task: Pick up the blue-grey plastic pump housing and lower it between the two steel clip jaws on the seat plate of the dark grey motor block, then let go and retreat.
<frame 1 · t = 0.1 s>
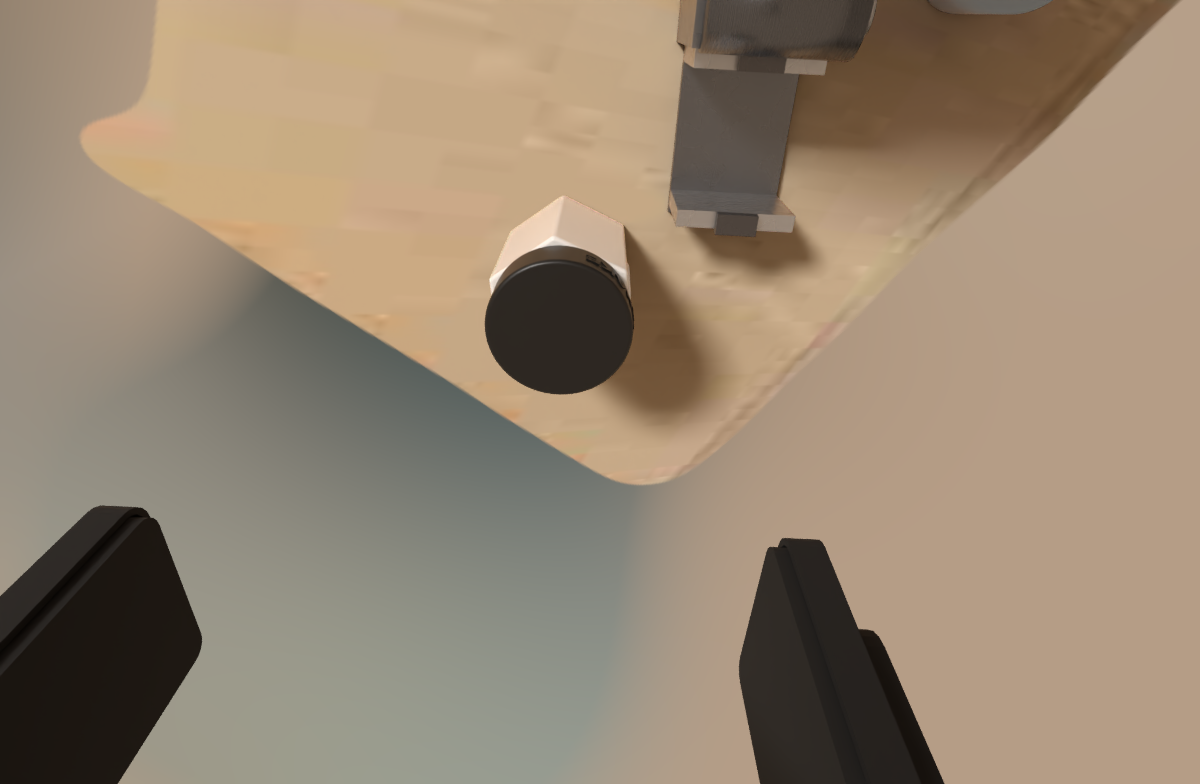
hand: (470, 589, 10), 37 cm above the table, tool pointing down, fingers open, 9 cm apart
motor: (731, 130, 41), on the table
jar: (569, 258, 46), on the table
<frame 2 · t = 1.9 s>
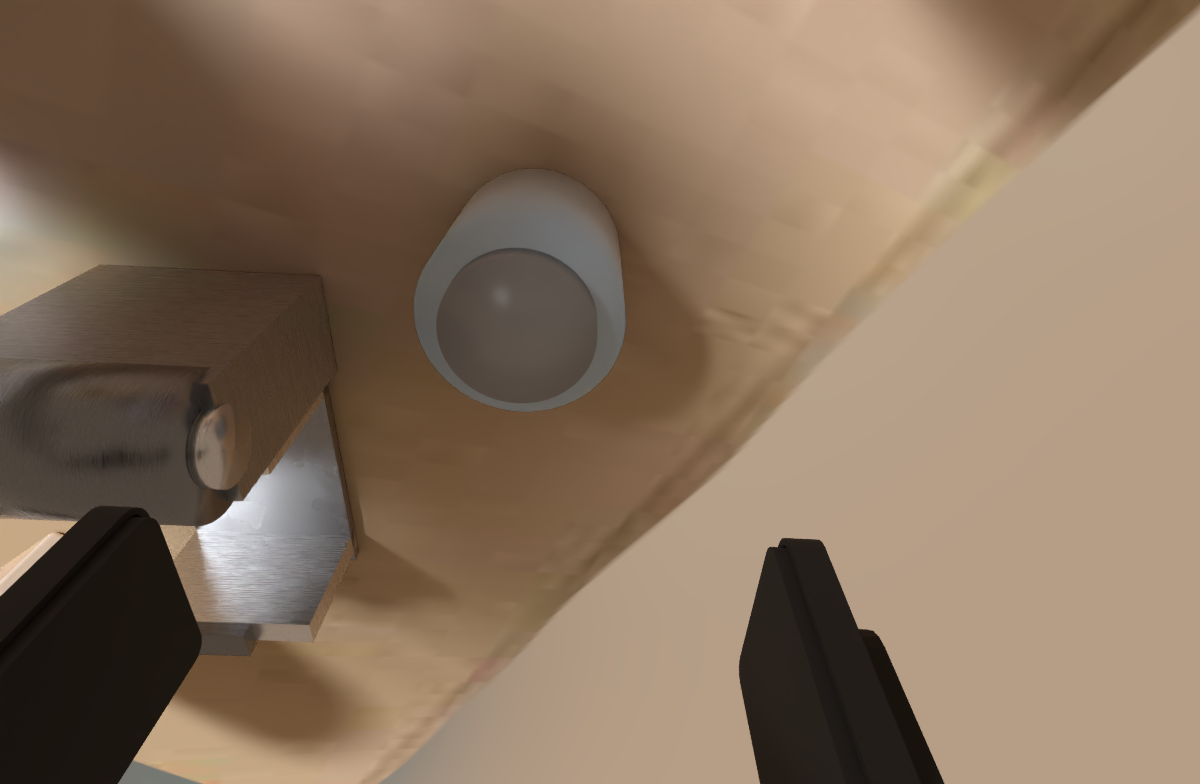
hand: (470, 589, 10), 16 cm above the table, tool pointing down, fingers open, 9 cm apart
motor: (261, 461, 28), on the table
pump: (537, 253, 24), on the table
jar: (101, 593, 33), on the table
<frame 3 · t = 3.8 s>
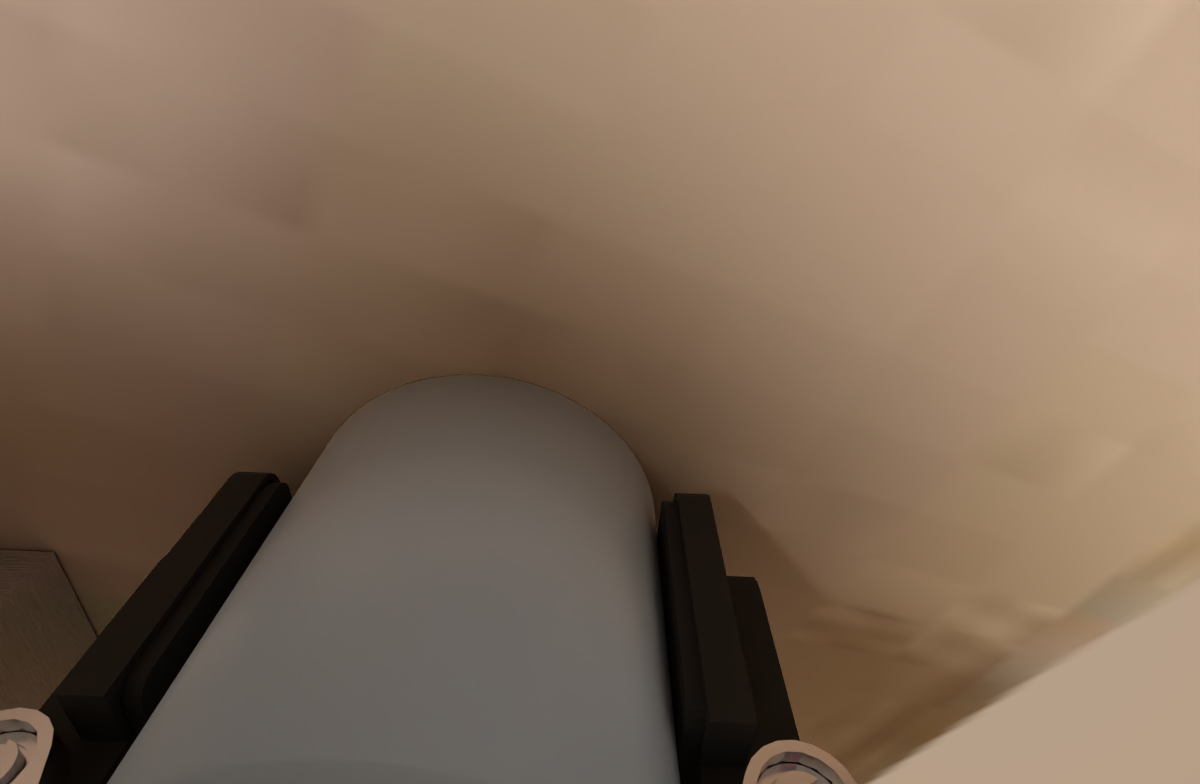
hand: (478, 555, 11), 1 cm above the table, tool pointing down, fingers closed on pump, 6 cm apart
pump: (486, 522, 12), on the table, touching gripper
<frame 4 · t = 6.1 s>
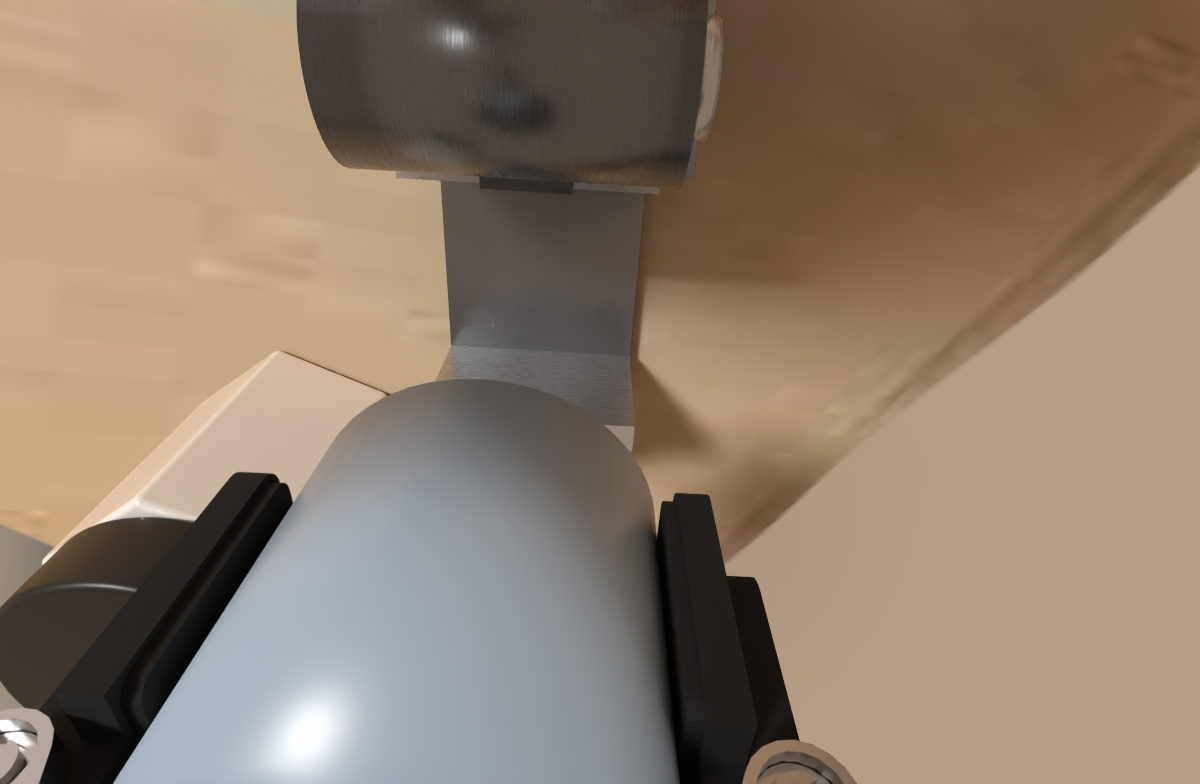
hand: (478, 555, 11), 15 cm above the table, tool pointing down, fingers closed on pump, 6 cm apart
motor: (543, 254, 24), on the table
pump: (487, 525, 12), point 14 cm above the table, touching gripper
jar: (313, 437, 28), on the table
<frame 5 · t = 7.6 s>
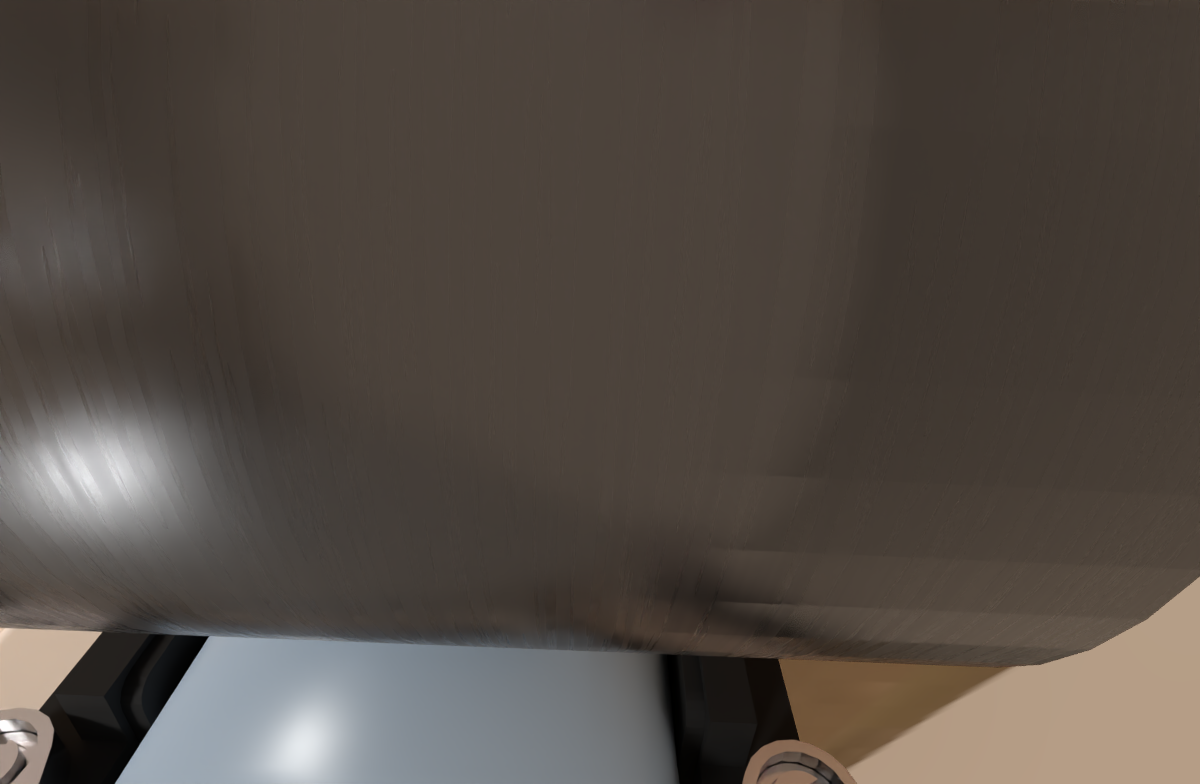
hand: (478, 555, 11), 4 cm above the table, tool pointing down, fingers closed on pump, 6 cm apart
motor: (501, 420, 14), on the table
pump: (487, 526, 12), point 3 cm above the table, touching gripper
jar: (159, 662, 18), on the table
when the fingers open (3 cm above the table, at t = 8.5 s): pump drops 2 cm, resting on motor.
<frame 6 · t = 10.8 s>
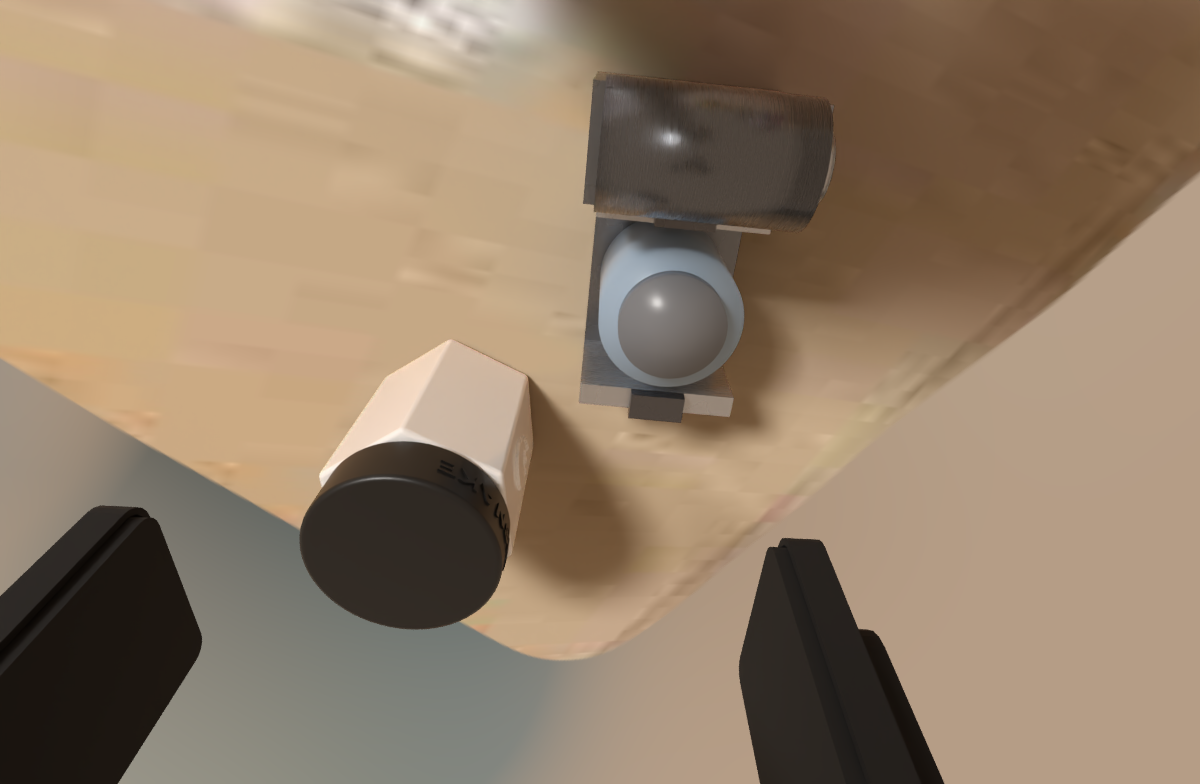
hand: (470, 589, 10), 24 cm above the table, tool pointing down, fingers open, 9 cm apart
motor: (660, 273, 32), on the table
pump: (660, 277, 32), point 1 cm above the table, touching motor
jar: (462, 409, 37), on the table
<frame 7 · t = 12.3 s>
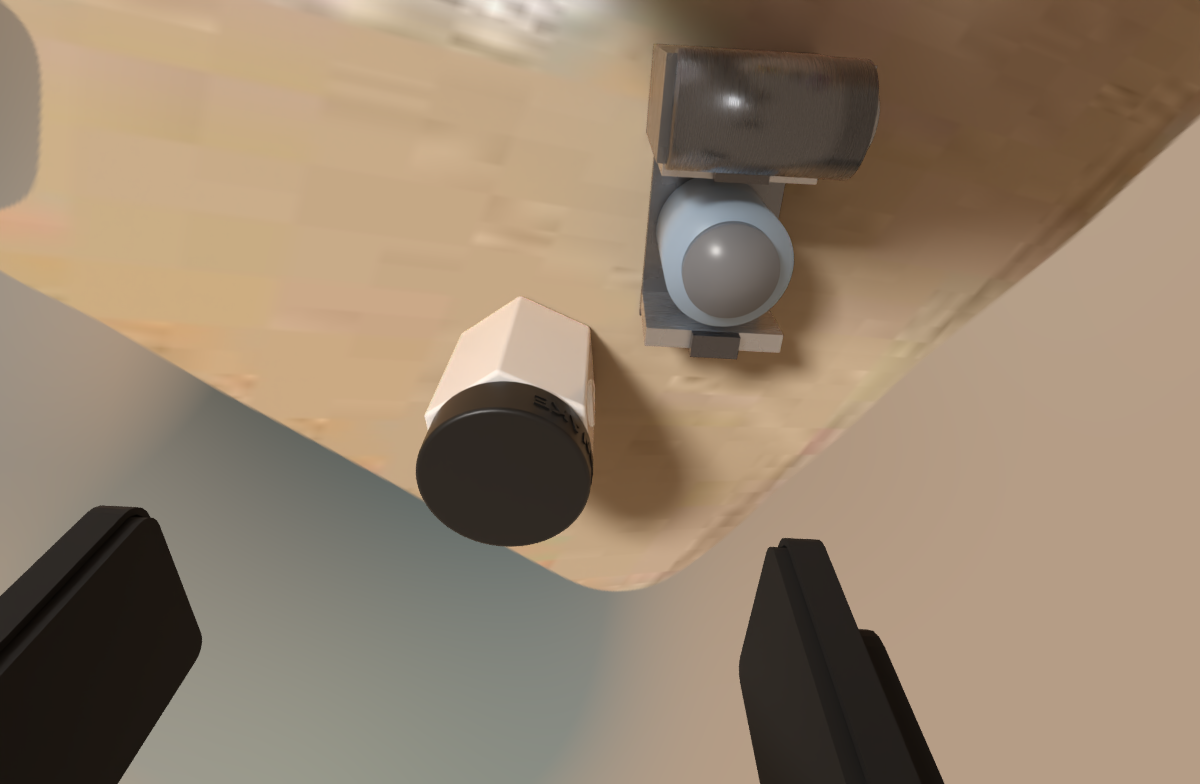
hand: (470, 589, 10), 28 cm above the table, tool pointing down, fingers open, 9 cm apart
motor: (710, 227, 36), on the table
pump: (711, 230, 35), point 1 cm above the table, touching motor
jar: (530, 360, 40), on the table
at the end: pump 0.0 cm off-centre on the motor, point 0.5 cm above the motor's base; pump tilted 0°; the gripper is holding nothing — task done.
